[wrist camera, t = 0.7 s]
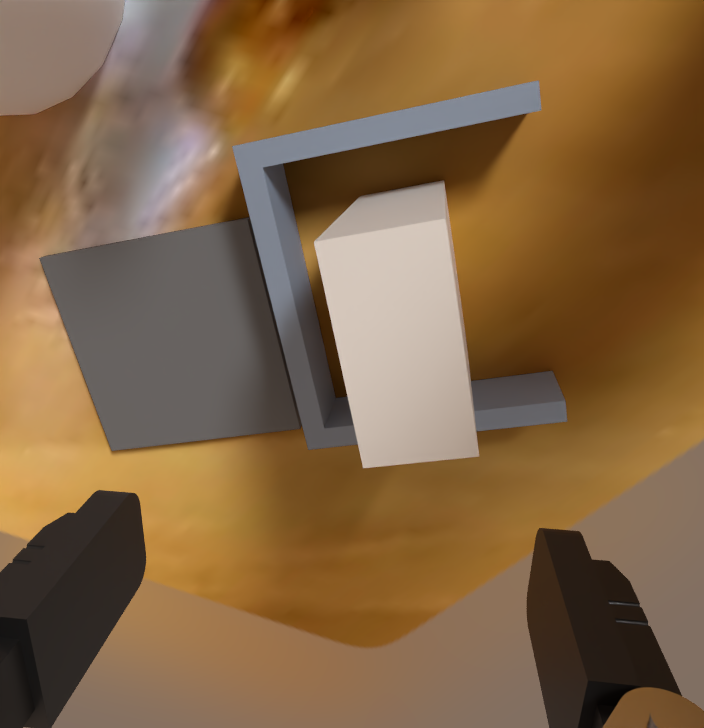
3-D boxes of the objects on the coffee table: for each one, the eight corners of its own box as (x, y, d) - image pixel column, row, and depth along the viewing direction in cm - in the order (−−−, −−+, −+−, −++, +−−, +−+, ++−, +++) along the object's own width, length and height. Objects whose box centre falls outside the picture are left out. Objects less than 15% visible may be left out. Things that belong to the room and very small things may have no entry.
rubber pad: (250, 216, 34) (247, 218, 34) (302, 424, 39) (300, 428, 38) (45, 256, 37) (39, 258, 36) (116, 446, 41) (111, 450, 41)
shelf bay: (527, 84, 30) (538, 80, 26) (554, 389, 36) (567, 421, 32) (255, 142, 33) (232, 146, 29) (320, 417, 38) (308, 449, 35)
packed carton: (443, 180, 32) (445, 218, 20) (466, 340, 35) (479, 456, 23) (360, 196, 33) (314, 241, 21) (389, 351, 36) (363, 468, 24)
